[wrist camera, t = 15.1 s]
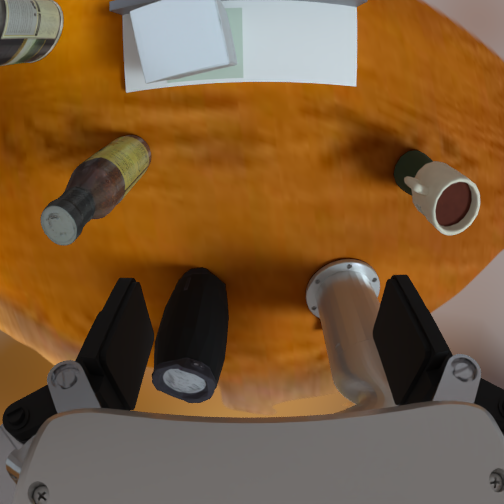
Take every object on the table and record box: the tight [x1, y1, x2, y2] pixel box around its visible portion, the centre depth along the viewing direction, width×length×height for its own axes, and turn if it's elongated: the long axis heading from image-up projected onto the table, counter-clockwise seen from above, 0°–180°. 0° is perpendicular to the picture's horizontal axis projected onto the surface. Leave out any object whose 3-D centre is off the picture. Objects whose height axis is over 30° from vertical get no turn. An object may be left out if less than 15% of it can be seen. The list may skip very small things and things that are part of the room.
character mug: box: [394, 150, 480, 235], centre depth 36 cm, size 11×7×13 cm, turn 77°
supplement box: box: [130, 0, 238, 84], centre depth 26 cm, size 7×7×13 cm
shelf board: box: [123, 0, 357, 93], centre depth 32 cm, size 12×28×2 cm, turn 91°
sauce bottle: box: [41, 135, 151, 245], centre depth 32 cm, size 6×6×20 cm
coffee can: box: [0, 0, 63, 66], centre depth 23 cm, size 10×10×14 cm
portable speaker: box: [152, 268, 229, 403], centre depth 44 cm, size 9×9×20 cm
